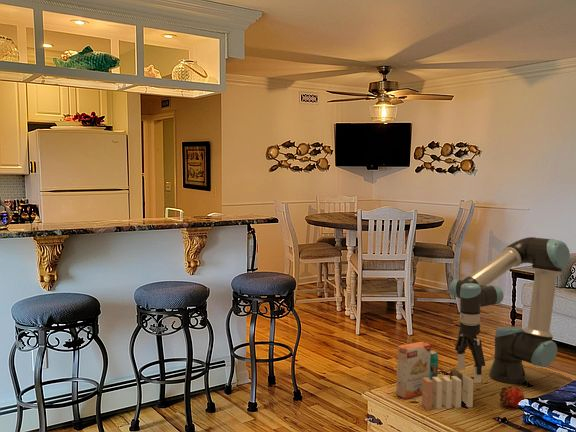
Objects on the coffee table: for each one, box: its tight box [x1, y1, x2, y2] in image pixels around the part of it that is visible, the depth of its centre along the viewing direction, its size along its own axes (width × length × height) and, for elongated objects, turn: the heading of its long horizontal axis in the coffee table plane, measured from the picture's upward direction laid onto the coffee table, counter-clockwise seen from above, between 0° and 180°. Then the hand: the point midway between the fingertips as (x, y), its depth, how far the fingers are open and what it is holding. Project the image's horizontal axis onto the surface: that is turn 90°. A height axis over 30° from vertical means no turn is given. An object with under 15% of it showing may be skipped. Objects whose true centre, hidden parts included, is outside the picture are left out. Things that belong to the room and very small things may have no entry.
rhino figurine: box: [449, 368, 464, 387], centre depth 238 cm, size 4×14×6 cm, turn 9°
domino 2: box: [432, 376, 443, 410], centre depth 215 cm, size 2×5×11 cm, turn 9°
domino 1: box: [421, 377, 433, 411], centre depth 214 cm, size 2×5×11 cm, turn 8°
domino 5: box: [461, 374, 475, 408], centre depth 217 cm, size 2×5×11 cm, turn 9°
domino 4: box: [451, 376, 463, 409], centre depth 216 cm, size 2×5×11 cm, turn 8°
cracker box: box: [395, 341, 432, 400], centre depth 227 cm, size 14×6×21 cm, turn 123°
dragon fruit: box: [499, 386, 525, 409], centre depth 216 cm, size 8×8×12 cm
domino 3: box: [441, 375, 452, 409], centre depth 216 cm, size 2×5×11 cm, turn 9°
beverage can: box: [430, 349, 439, 381], centre depth 237 cm, size 6×6×15 cm
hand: (469, 375), depth 217 cm, fingers open, 13 cm apart
